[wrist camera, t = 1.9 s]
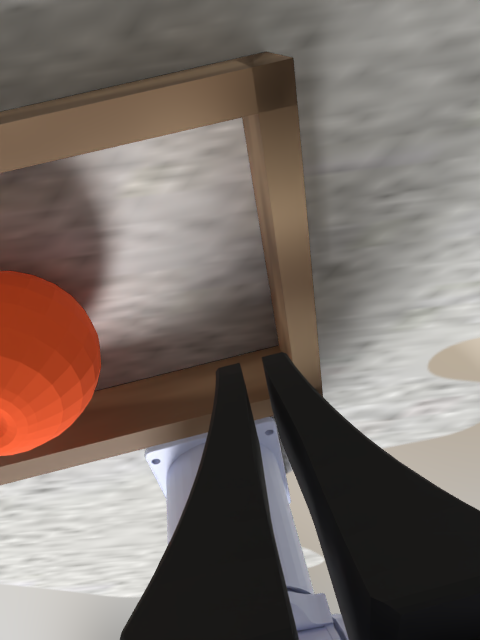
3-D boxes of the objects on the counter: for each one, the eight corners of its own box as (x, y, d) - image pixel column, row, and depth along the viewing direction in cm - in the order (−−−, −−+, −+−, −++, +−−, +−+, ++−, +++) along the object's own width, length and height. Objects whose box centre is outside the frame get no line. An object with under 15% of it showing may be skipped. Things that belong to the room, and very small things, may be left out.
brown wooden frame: (302, 356, 23) (323, 402, 20) (-7, 434, 23) (-30, 492, 20) (266, 51, 15) (293, 57, 12) (-231, 164, 14) (-328, 198, 11)
